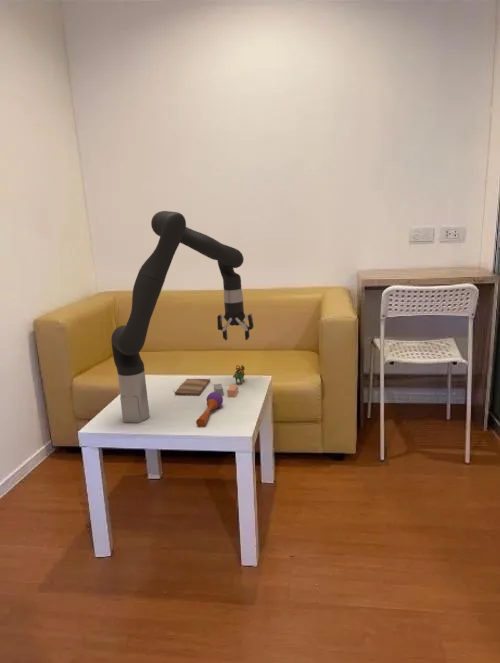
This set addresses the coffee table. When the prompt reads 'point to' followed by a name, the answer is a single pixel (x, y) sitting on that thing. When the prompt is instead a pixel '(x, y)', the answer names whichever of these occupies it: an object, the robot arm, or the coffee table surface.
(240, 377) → the figurine
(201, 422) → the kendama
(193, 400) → the coffee table surface
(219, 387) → the slate-grey brick
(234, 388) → the terracotta brick
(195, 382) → the walnut board
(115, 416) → the coffee table surface
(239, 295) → the robot arm
